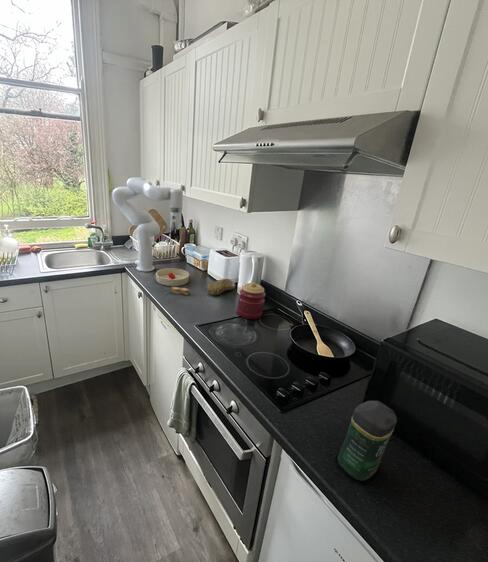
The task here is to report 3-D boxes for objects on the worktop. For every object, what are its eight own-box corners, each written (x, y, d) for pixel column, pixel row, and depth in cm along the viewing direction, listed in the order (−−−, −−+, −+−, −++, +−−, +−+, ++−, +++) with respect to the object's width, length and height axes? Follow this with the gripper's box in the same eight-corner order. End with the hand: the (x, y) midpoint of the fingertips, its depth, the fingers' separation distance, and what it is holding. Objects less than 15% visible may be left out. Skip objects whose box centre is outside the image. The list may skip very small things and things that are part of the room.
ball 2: (176, 280, 189) (171, 281, 189) (175, 276, 191) (170, 277, 192) (174, 276, 187) (169, 277, 187) (174, 273, 189) (169, 274, 189)
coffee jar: (360, 488, 71) (382, 430, 64) (331, 461, 77) (349, 405, 70) (382, 469, 76) (405, 414, 69) (353, 445, 82) (372, 392, 75)
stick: (188, 293, 173) (189, 288, 172) (187, 295, 170) (188, 290, 169) (172, 291, 174) (172, 286, 173) (171, 292, 171) (171, 288, 170)
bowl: (148, 281, 186) (148, 274, 185) (168, 272, 204) (168, 266, 202) (176, 289, 177) (177, 282, 175) (195, 279, 194) (195, 272, 193)
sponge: (224, 287, 188) (199, 285, 176) (229, 276, 185) (203, 274, 173) (236, 298, 179) (210, 298, 167) (241, 287, 176) (215, 286, 164)
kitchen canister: (254, 307, 161) (259, 276, 154) (266, 318, 149) (272, 286, 143) (232, 309, 157) (236, 277, 150) (243, 321, 145) (248, 287, 139)
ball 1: (168, 274, 194) (172, 272, 194) (170, 278, 194) (174, 276, 193) (167, 273, 191) (171, 271, 191) (168, 278, 191) (173, 276, 190)
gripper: (178, 212, 172) (177, 241, 178) (185, 208, 188) (183, 235, 194) (166, 211, 173) (165, 240, 180) (173, 207, 189) (172, 234, 195)
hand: (175, 237), depth 187 cm, fingers open, 9 cm apart
